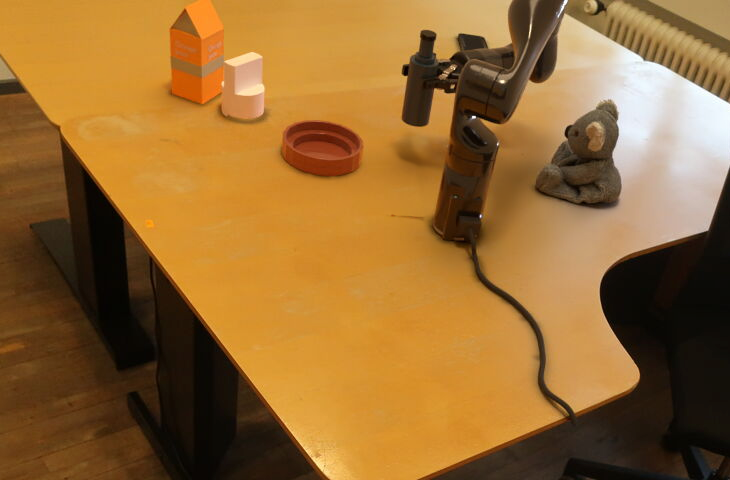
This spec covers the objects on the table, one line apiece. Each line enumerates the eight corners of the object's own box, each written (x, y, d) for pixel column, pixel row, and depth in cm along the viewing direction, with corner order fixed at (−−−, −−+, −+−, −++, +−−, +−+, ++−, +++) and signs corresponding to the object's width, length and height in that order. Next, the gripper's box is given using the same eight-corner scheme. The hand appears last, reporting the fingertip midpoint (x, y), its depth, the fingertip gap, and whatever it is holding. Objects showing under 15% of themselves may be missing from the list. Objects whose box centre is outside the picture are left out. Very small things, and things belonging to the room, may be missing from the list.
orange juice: (171, 93, 184) (167, 1, 170) (194, 80, 190) (192, -10, 177) (202, 104, 182) (201, 13, 169) (224, 91, 189) (224, 1, 176)
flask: (430, 128, 173) (444, 41, 161) (402, 125, 172) (415, 37, 160) (427, 115, 178) (441, 29, 165) (400, 112, 176) (412, 25, 164)
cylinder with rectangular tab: (241, 98, 188) (242, 46, 180) (272, 113, 185) (274, 61, 177) (212, 109, 182) (212, 56, 174) (244, 125, 179) (245, 72, 171)
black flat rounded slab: (484, 36, 240) (491, 58, 230) (483, 40, 241) (491, 62, 230) (457, 32, 239) (464, 54, 228) (456, 36, 239) (463, 58, 229)
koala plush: (553, 160, 194) (576, 80, 181) (625, 187, 191) (654, 107, 178) (530, 191, 181) (553, 108, 168) (607, 220, 178) (637, 137, 165)
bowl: (362, 183, 171) (364, 163, 168) (280, 175, 167) (281, 155, 164) (358, 143, 183) (361, 124, 180) (282, 135, 179) (283, 116, 176)
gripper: (459, 36, 178) (394, 44, 168) (501, 65, 170) (436, 75, 161) (453, 70, 183) (389, 79, 173) (493, 100, 175) (429, 111, 166)
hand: (412, 77), depth 167 cm, fingers closed on flask, 6 cm apart
